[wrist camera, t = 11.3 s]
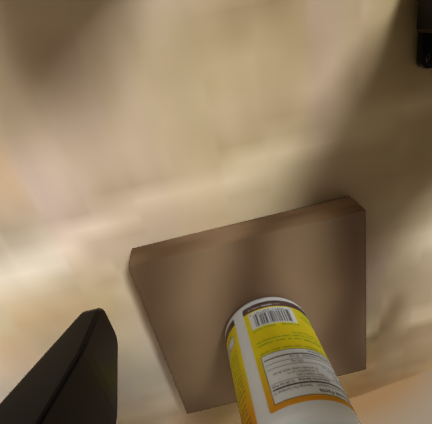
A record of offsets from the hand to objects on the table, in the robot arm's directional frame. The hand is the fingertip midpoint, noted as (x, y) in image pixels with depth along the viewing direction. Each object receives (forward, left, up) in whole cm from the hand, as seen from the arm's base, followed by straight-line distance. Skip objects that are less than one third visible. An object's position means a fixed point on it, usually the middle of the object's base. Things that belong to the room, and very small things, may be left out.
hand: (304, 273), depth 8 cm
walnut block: (0, +13, -13) cm, 18 cm away
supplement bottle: (0, +13, -11) cm, 17 cm away
